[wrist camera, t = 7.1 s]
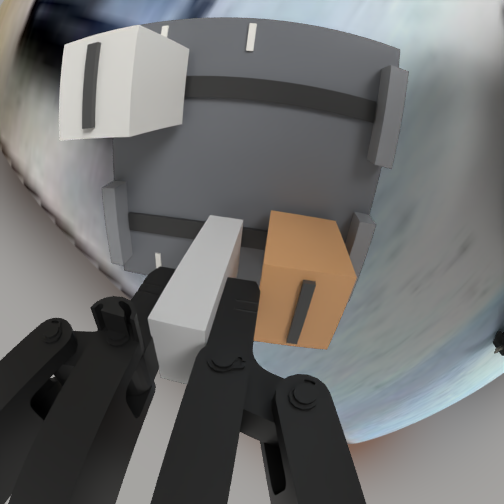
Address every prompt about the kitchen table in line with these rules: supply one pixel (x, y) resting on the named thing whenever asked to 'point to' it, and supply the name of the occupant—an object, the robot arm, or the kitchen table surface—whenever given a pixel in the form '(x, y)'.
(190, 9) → the kitchen table surface
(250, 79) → the panel
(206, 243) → the robot arm
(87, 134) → the white fader
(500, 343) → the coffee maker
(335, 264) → the orange fader
